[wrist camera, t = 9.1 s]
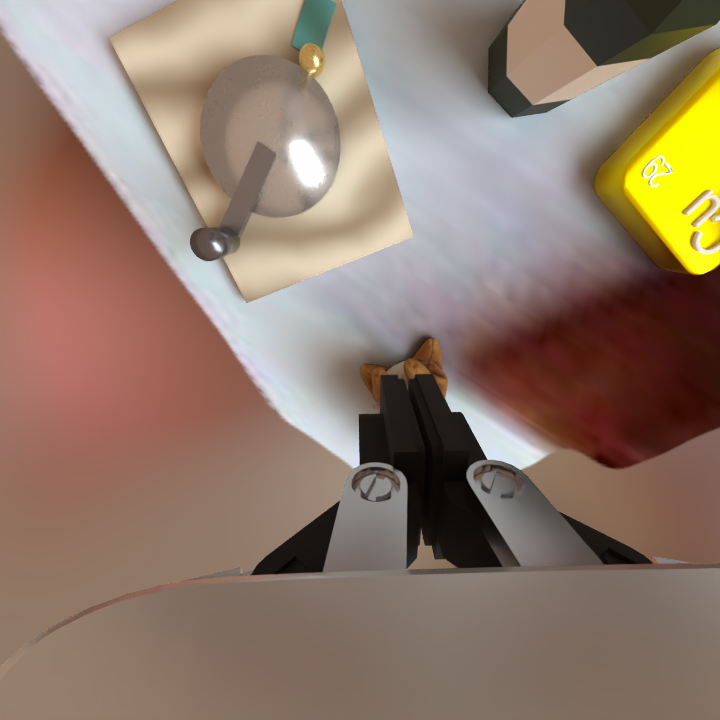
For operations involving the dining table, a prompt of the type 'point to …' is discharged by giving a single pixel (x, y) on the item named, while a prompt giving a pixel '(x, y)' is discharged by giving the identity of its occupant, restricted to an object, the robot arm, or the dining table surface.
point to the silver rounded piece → (267, 143)
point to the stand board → (345, 91)
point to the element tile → (672, 176)
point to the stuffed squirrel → (409, 369)
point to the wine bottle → (583, 46)
